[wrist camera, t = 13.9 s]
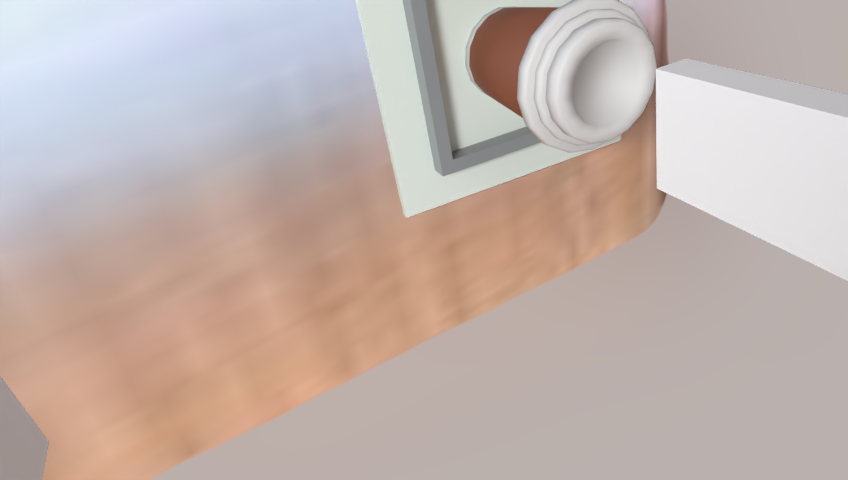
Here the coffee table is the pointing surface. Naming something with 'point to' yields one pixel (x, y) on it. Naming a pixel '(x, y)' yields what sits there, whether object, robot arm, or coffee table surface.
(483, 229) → the coffee table surface
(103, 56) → the coffee table surface
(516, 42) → the coffee cup
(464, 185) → the square seat
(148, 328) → the coffee table surface
